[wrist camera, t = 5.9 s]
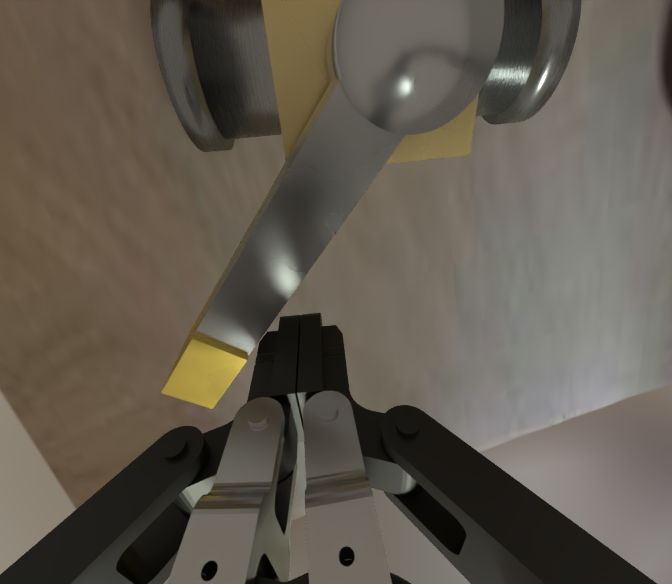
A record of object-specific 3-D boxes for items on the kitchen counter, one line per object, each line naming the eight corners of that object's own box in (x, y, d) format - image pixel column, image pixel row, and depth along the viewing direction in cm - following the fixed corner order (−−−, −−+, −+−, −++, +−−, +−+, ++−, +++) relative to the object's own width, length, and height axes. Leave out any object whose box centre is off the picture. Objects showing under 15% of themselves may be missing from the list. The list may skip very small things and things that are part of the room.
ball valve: (501, -30, 14) (661, -124, 8) (477, 124, 17) (576, 146, 11) (189, -4, 14) (89, -79, 7) (227, 148, 17) (180, 185, 11)
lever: (375, -62, 8) (414, -146, 5) (465, 37, 9) (539, 14, 6) (174, 323, 13) (139, 385, 10) (245, 351, 14) (230, 414, 12)
